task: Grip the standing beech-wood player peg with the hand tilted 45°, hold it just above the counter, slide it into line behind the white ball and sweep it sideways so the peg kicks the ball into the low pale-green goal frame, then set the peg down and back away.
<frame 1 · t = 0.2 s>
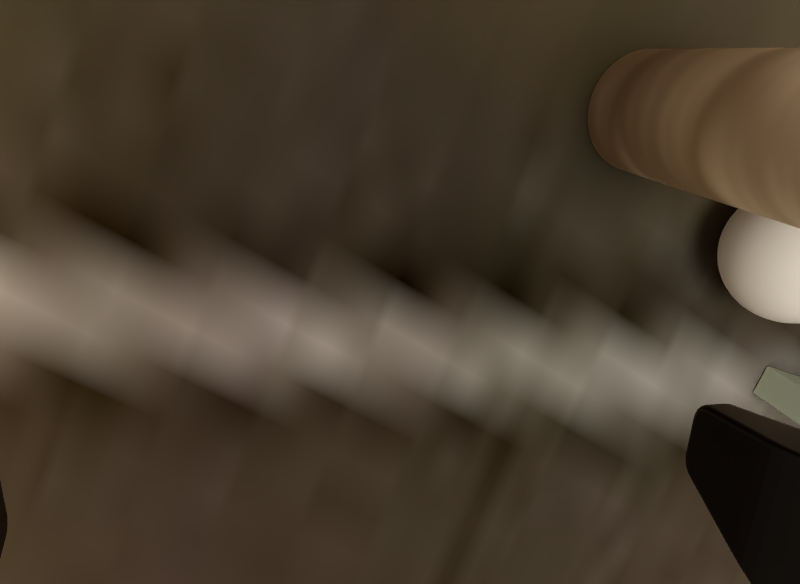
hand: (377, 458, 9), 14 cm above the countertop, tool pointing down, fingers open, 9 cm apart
player peg: (643, 112, 23), on the countertop
ball: (792, 254, 24), point 2 cm above the countertop
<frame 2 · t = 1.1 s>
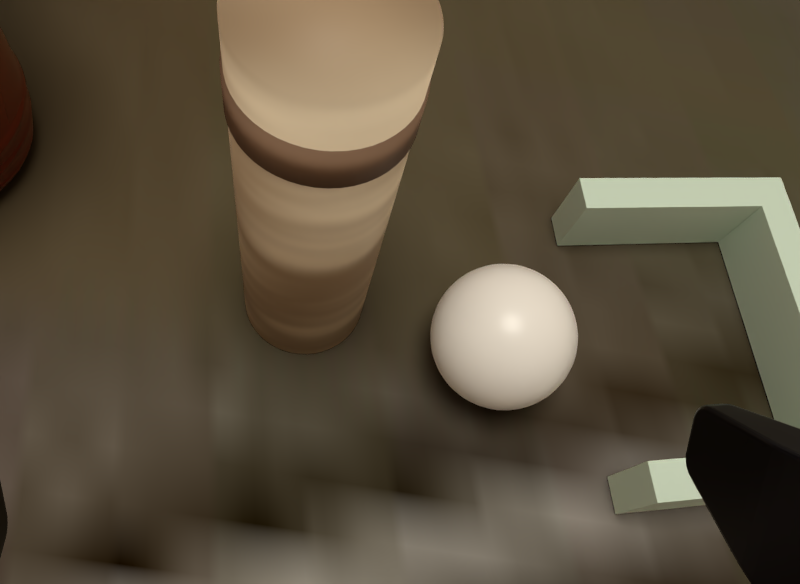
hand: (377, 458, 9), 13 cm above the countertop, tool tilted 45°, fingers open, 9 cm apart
player peg: (304, 298, 24), on the countertop
goal: (682, 348, 26), on the countertop
ball: (502, 336, 22), point 2 cm above the countertop
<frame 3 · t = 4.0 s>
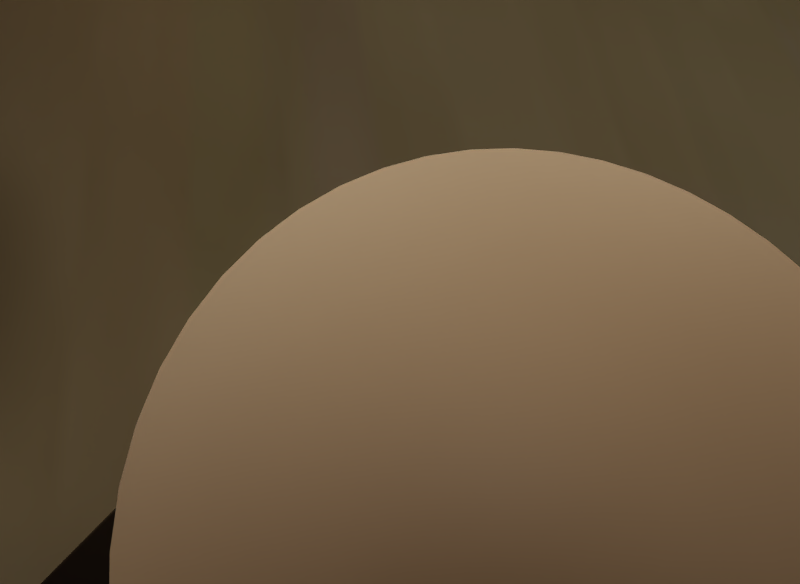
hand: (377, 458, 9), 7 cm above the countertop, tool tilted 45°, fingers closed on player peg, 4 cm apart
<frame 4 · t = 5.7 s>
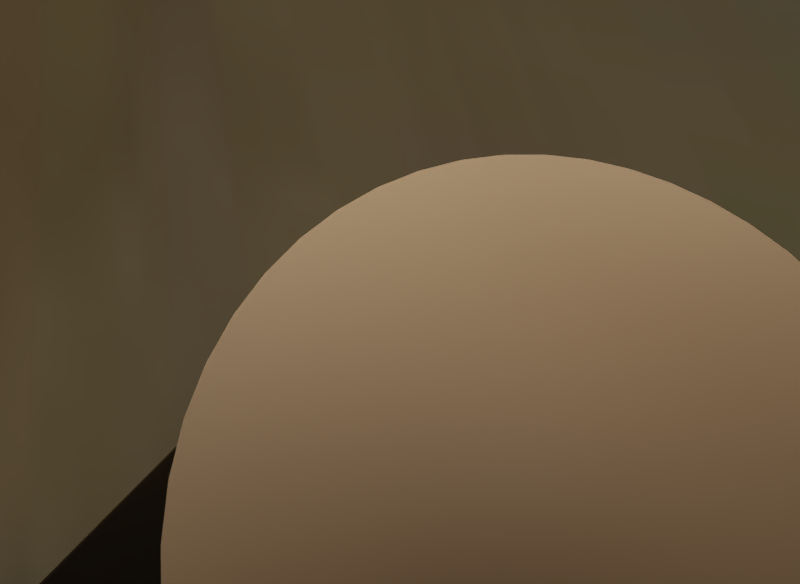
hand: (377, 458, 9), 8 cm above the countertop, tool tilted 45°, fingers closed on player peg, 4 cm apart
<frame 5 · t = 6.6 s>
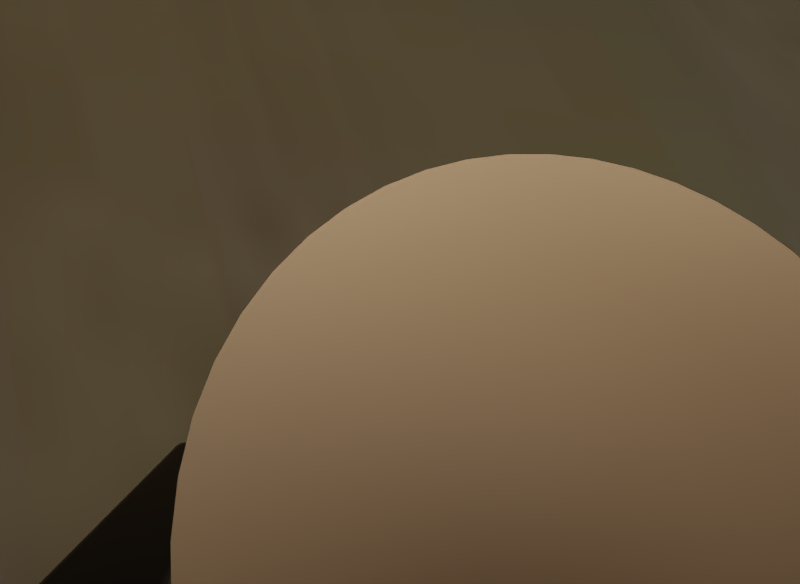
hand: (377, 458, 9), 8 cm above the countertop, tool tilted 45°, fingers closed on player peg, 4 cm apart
when the fingers open (7 cm above the countertop, at t = 7.7 s): player peg stays where it is, on the countertop.
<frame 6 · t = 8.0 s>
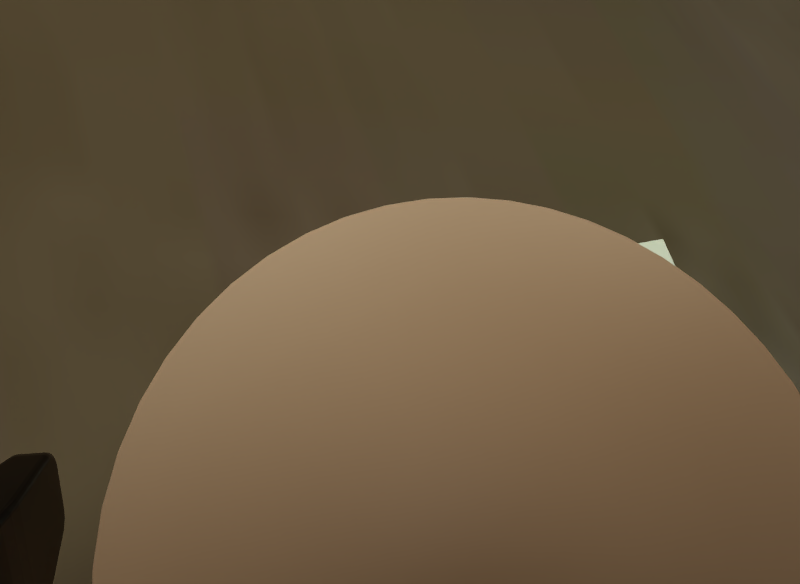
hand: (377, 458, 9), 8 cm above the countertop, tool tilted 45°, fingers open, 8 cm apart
goal: (549, 525, 17), on the countertop
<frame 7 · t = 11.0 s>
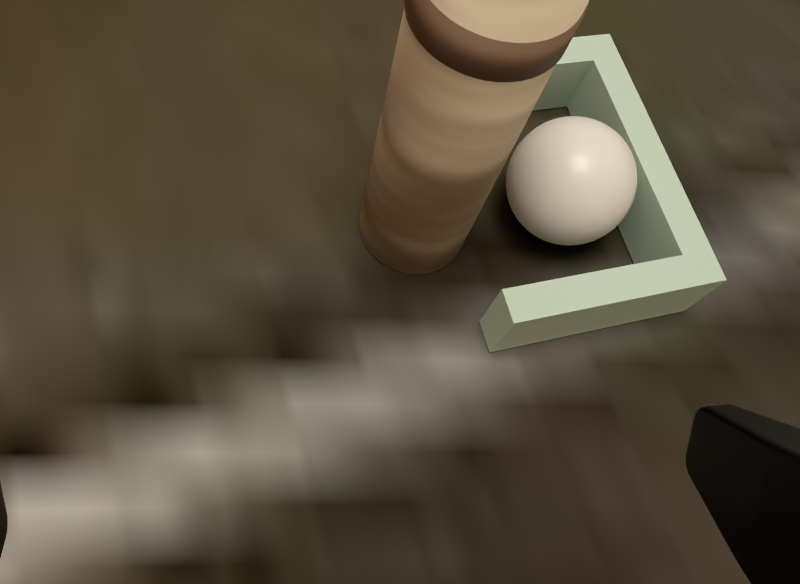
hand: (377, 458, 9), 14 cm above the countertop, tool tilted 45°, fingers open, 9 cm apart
player peg: (412, 225, 26), on the countertop
goal: (540, 202, 28), on the countertop
ball: (570, 181, 25), point 2 cm above the countertop, tilted 167°
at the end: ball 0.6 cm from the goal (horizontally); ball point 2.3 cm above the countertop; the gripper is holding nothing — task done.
